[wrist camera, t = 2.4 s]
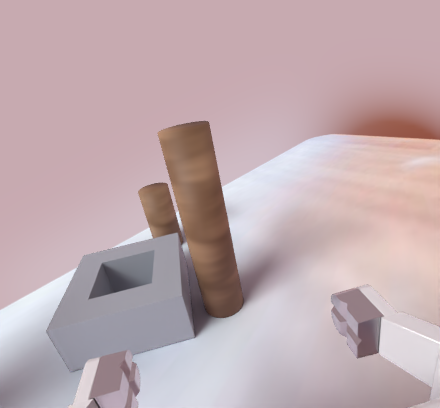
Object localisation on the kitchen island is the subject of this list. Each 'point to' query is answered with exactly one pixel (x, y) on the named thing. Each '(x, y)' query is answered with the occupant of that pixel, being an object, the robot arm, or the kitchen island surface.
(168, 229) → the short dowel
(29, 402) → the kitchen island surface
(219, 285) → the long dowel
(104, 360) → the robot arm
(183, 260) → the socket block
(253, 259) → the kitchen island surface
